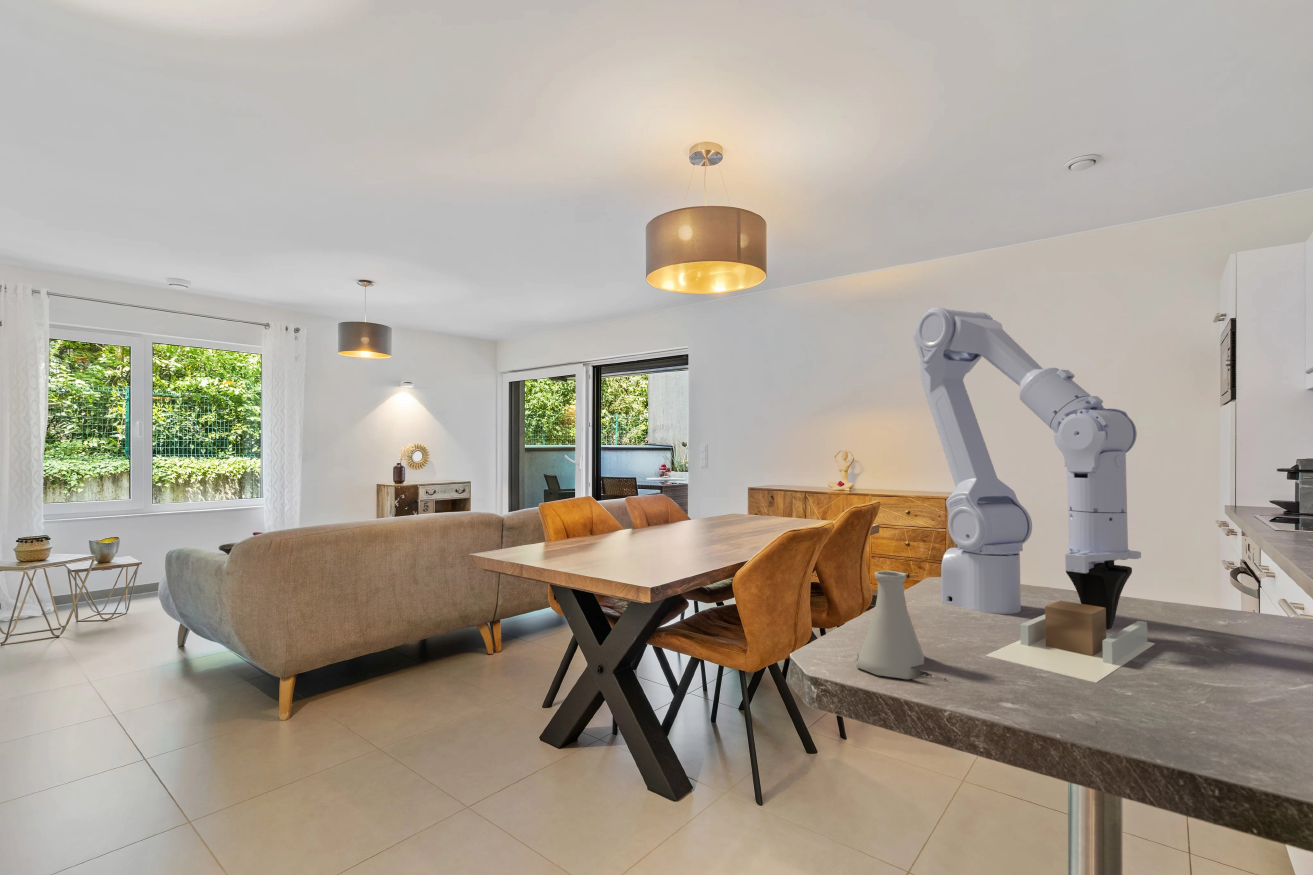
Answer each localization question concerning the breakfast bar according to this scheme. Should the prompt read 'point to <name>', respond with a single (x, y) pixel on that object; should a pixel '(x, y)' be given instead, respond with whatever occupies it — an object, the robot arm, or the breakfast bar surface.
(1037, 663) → the trap channel
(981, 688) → the breakfast bar surface
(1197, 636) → the breakfast bar surface
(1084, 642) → the walnut block
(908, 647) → the flask
